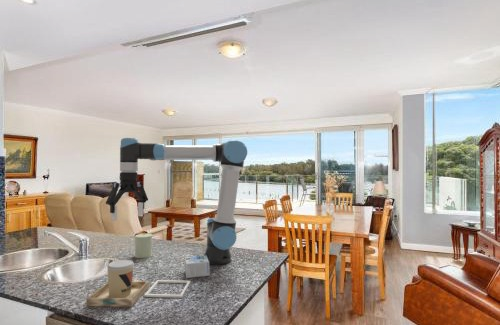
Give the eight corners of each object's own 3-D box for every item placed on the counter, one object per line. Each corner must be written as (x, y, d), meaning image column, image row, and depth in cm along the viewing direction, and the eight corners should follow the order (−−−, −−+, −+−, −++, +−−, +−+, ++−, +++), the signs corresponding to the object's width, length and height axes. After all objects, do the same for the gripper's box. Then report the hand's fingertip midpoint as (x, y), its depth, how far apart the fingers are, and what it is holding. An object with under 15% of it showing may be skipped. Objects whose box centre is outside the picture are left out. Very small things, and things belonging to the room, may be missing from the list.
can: (152, 252, 167) (152, 232, 168) (151, 257, 159) (152, 235, 159) (135, 254, 164) (135, 233, 165) (134, 258, 156) (134, 236, 156)
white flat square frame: (190, 282, 124) (190, 280, 124) (181, 297, 109) (181, 295, 109) (157, 281, 124) (157, 280, 124) (144, 296, 110) (144, 294, 110)
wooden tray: (148, 287, 118) (148, 281, 118) (131, 307, 101) (131, 299, 102) (109, 286, 119) (109, 280, 119) (85, 306, 102) (85, 299, 102)
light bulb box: (184, 256, 139) (206, 254, 142) (184, 270, 139) (206, 268, 142) (185, 263, 129) (209, 261, 131) (185, 278, 128) (209, 276, 131)
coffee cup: (122, 301, 105) (123, 268, 105) (100, 298, 107) (101, 266, 107) (138, 290, 114) (138, 260, 114) (117, 288, 116) (118, 258, 116)
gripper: (145, 171, 143) (145, 213, 143) (97, 171, 122) (96, 221, 121) (156, 171, 139) (155, 215, 139) (108, 172, 118) (106, 223, 117)
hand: (127, 218), depth 130 cm, fingers open, 13 cm apart
